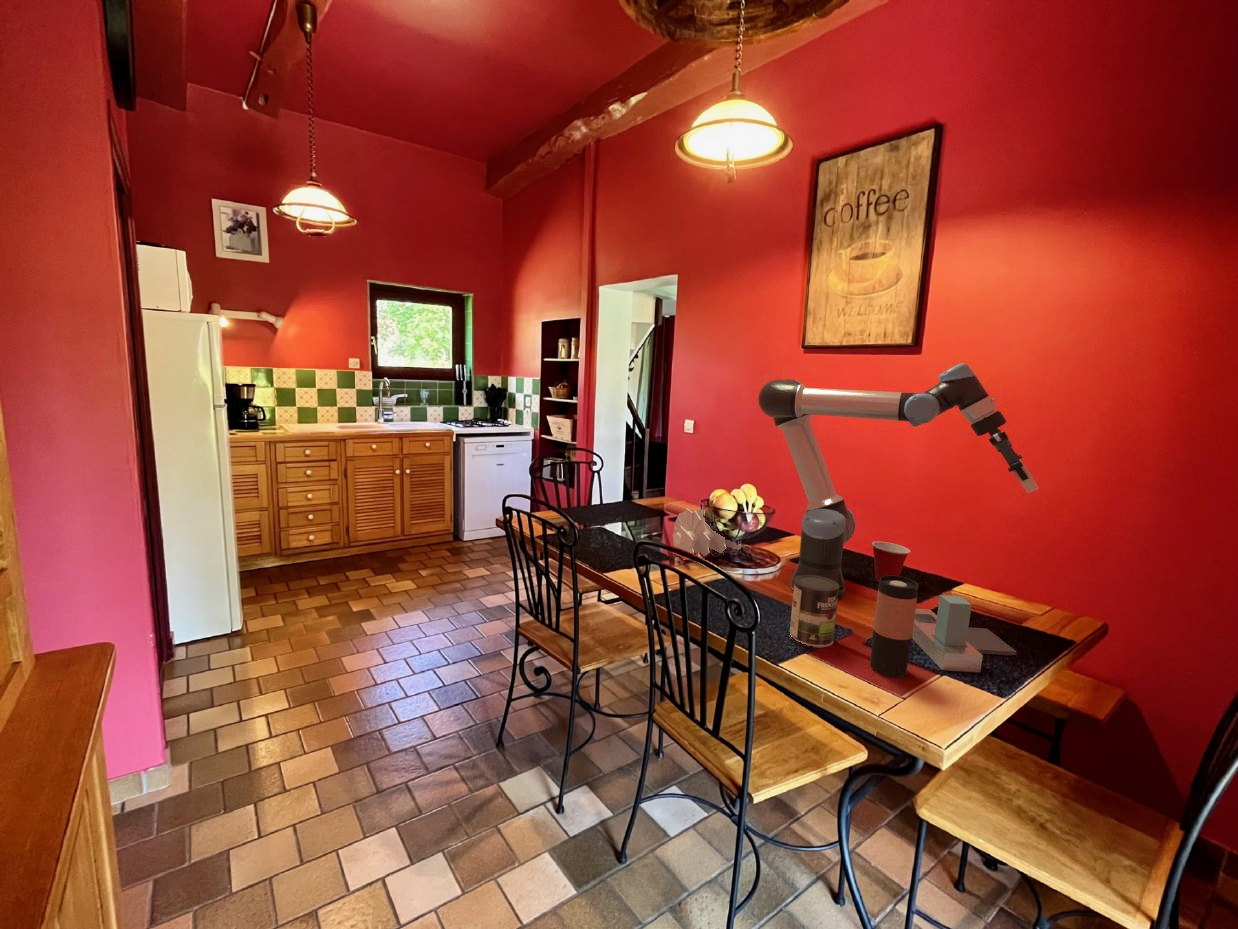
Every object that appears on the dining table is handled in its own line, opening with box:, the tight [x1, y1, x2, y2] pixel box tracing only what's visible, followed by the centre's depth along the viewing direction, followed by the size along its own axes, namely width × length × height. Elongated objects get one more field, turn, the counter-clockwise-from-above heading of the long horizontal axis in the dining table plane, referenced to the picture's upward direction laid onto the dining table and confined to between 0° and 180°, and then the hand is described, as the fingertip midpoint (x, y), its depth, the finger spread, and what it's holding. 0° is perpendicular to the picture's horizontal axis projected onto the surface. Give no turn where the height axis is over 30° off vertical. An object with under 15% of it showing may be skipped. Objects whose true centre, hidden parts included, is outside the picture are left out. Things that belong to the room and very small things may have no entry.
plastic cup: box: [871, 540, 911, 583], centre depth 175 cm, size 11×11×12 cm
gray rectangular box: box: [934, 594, 973, 647], centre depth 129 cm, size 5×5×14 cm
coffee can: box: [789, 575, 840, 649], centre depth 136 cm, size 10×10×14 cm
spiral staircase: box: [671, 507, 742, 557], centre depth 192 cm, size 18×18×25 cm
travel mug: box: [869, 575, 919, 678], centre depth 122 cm, size 8×8×20 cm
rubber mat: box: [966, 627, 1018, 656], centre depth 138 cm, size 12×12×1 cm
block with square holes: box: [912, 608, 984, 673], centre depth 135 cm, size 8×24×4 cm, turn 177°
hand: (1031, 486), depth 148 cm, fingers open, 13 cm apart
